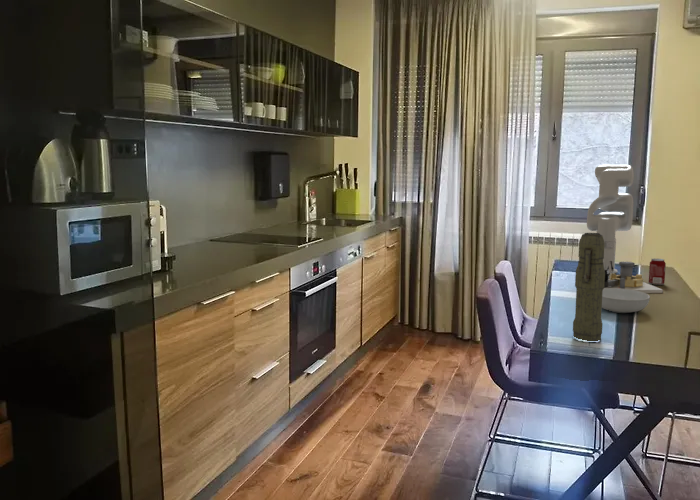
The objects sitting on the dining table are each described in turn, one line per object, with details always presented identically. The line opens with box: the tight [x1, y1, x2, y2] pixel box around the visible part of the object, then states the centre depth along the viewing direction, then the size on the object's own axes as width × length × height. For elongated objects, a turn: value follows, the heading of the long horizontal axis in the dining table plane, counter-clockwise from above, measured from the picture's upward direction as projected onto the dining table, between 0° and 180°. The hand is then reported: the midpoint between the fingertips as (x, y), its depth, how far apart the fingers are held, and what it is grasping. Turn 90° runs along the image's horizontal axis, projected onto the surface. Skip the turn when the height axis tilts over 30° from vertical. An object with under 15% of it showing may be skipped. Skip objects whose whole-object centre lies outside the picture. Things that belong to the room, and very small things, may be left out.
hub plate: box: [607, 261, 664, 294], centre depth 272 cm, size 24×22×12 cm
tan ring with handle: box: [604, 273, 644, 288], centre depth 270 cm, size 24×14×4 cm, turn 121°
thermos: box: [572, 232, 605, 341], centre depth 191 cm, size 9×12×35 cm
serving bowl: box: [602, 288, 651, 314], centre depth 231 cm, size 21×21×7 cm
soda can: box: [648, 258, 667, 286], centre depth 279 cm, size 7×7×12 cm
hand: (603, 284), depth 269 cm, fingers closed
